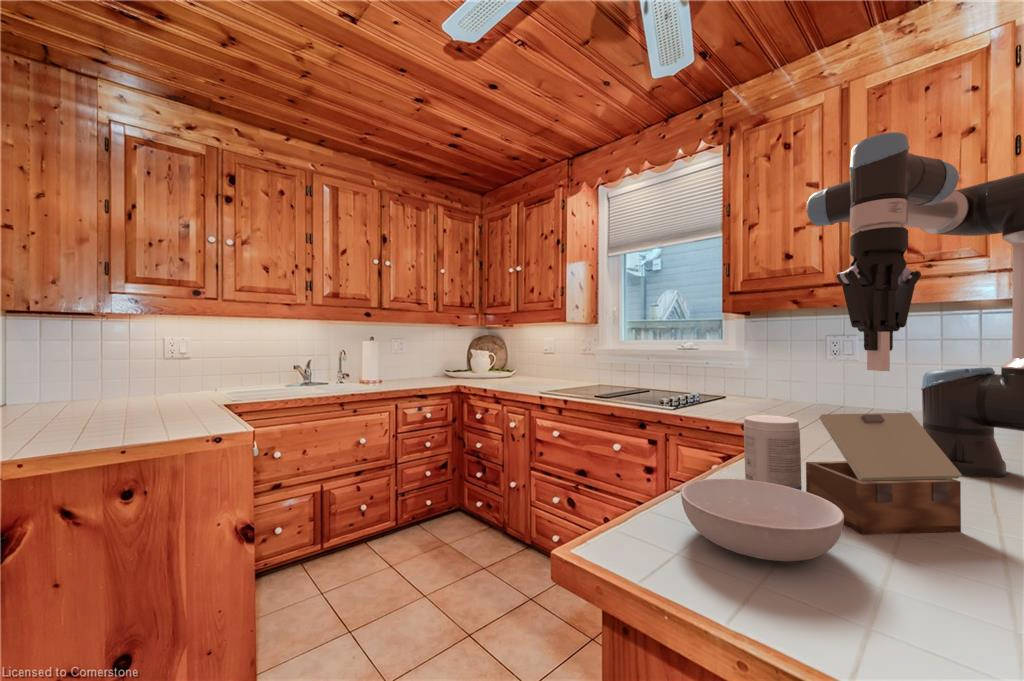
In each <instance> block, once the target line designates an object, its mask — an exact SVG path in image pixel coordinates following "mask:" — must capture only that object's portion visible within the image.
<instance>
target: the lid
mask: <svg viewBox="0 0 1024 681" xmlns="http://www.w3.org/2000/svg"><path fill="white" fill-rule="evenodd" d="M818 419H819V420H820V422H821V424H822V425H823V426H824V428H825V429H826V431H827V433H828V434H829V436H830V438H831V439H832V441H833V442H834V443H835V446H836V447H837V449H838V450H839V451H840V453H841V454H842V457H843V458H844V459H845V461H847V462H848V464H849V466H850V467H851V469H852V470H853V472H854V473H855V475H856V476H857V478H858V480H859V481H872V480H915V479H954V480H957V479H959V478H961V477H962V476H963V474H961V473H960V472H959V471H958V470H957V468H956V467H955V466H954V465H953V463H952V462H951V461H950V460H949V459H948V457H947V456H946V455H945V454H944V453H943V451H942V450H941V449H940V448H939V447H938V445H937V444H936V443H935V442H934V441H933V439H932V438H931V437H930V436H929V434H928V433H927V432H926V431H925V430H924V428H923V425H921V424H920V422H919V421H918V420H917V419H916V418H915V416H914V415H913V414H912V413H911V412H889V413H888V412H886V413H885V412H884V413H880V412H879V413H829V414H825V413H822V414H821V415H820V416H819V417H818Z"/></svg>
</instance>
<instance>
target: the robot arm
mask: <svg viewBox="0 0 1024 681" xmlns="http://www.w3.org/2000/svg"><path fill="white" fill-rule="evenodd" d="M910 147H911V146H910V145H909V138H908V136H907V134H905V133H903V132H897V131H896V132H893V131H892V132H885V133H884V132H883V133H881V134H879V133H878V134H874V135H872V136H870V137H867V138H864V139H863V140H860V141H859V142H857V143H856V144H855V145H854V146H853V147H852V149H851V152H850V161H849V168H848V171H849V180H847V181H844V182H841V183H838V184H835V185H832V186H831V185H830V186H827V187H825V188H822V189H821V190H819V191H815V192H814V193H812V195H810V197H809V198H808V199H807V200H808V201H807V203H806V215H807V217H808V219H809V221H810V222H811V223H812V224H814V225H815V226H817V227H824V226H825V227H826V226H833V225H835V224H838V223H849V231H850V232H851V233H853V234H851V236H849V254H850V256H851V257H852V261H851V263H850V266H849V268H847V269H846V270H845V271H842V272H841V271H840V272H838V273H837V274H836V279H837V280H838V282H839V284H840V285H841V287H842V290H843V295H844V299H845V304H846V307H847V312H848V316H849V320H850V321H849V322H850V324H851V325H850V326H851V327H852V328H855V329H857V330H858V332H861V333H863V349H864V351H866V370H867V371H878V372H890V371H891V370H890V368H891V364H890V362H891V359H890V358H891V356H890V354H891V351H892V350H893V348H894V346H893V345H894V344H893V343H894V341H893V340H894V339H893V338H894V332H899V331H900V330H901V328H905V327H906V325H907V322H908V317H909V312H910V307H911V304H912V299H913V296H914V293H915V292H914V291H915V287H916V284H917V283H918V281H919V280H920V278H921V276H922V274H921V271H920V270H915V271H913V270H911V269H910V268H908V267H907V265H908V264H907V261H906V259H905V256H904V255H905V253H906V251H907V250H908V249H909V229H907V228H914V229H915V228H916V229H920V230H921V231H922V232H925V233H927V234H931V235H932V234H933V235H943V236H944V235H945V236H946V235H947V236H962V237H964V236H965V237H966V236H967V237H968V236H970V237H977V236H978V237H979V236H990V235H997V234H1001V235H1002V236H1001V238H1002V241H1005V242H1006V243H1007V244H1008V243H1009V245H1011V246H1012V336H1011V337H1012V340H1011V342H1012V344H1011V346H1012V347H1011V350H1012V351H1011V352H1012V353H1011V359H1010V360H1009V361H1007V362H1005V363H1004V364H1003V365H1001V373H1000V374H999V373H997V374H996V371H995V370H994V368H992V367H974V368H973V367H970V368H953V369H949V368H948V369H936V370H935V369H934V370H928V371H927V372H925V373H924V374H923V375H922V384H921V397H922V398H921V401H922V404H921V406H922V410H921V411H922V427H923V428H924V430H925V431H926V432H927V433H928V434H929V436H930V437H931V438H932V439H933V441H934V442H935V443H936V444H937V445H938V447H939V448H940V449H941V450H942V451H943V453H944V454H945V455H946V456H947V457H948V459H949V460H950V461H951V462H952V463H953V465H954V466H955V467H956V468H957V470H958V471H959V472H960V473H961V474H962V476H963V475H965V476H971V477H972V476H973V477H989V478H995V477H997V478H998V477H1004V476H1006V475H1007V463H1006V461H1005V460H1003V457H1002V456H1003V455H1002V453H1001V451H1000V449H999V446H998V444H997V441H996V438H995V428H997V429H1004V430H1012V431H1019V432H1024V172H1021V173H1017V174H1013V175H1009V176H1006V177H1001V178H998V179H995V180H991V181H989V180H988V181H987V182H986V181H985V182H982V183H978V184H975V185H971V186H966V187H964V188H963V187H962V188H959V189H956V188H957V186H958V184H959V178H960V174H959V171H958V169H957V168H956V167H955V165H953V164H951V163H949V162H947V161H943V159H940V158H932V157H928V156H927V157H926V156H923V155H916V154H913V153H909V150H910Z"/></svg>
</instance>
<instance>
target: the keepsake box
mask: <svg viewBox="0 0 1024 681" xmlns="http://www.w3.org/2000/svg"><path fill="white" fill-rule="evenodd" d="M805 482H806V485H805V487H806V488H805V492H808V493H811V494H814V495H816V496H819V497H821V498H823V499H825V500H828V501H829V502H831V503H833V504H834V505H836V506H837V507H838V508H839V509H840V510H841V511H842V512H843V514H844V523H843V527H844V526H845V527H846V528H849V529H850V530H852V531H854V532H856V533H858V534H860V535H861V536H864V535H865V536H866V535H897V534H898V535H899V534H900V535H903V534H904V535H905V534H930V533H931V534H934V533H936V534H937V533H938V534H939V533H940V534H941V533H961V532H962V527H961V526H962V508H961V507H962V506H961V505H962V503H961V492H962V491H961V483H962V482H961V481H960V480H957V479H915V480H872V481H859V480H858V478H857V476H856V475H855V473H854V472H853V470H852V469H851V467H850V466H849V464H848V462H847V461H846V460H843V461H841V460H839V461H837V460H836V461H835V460H834V461H805Z"/></svg>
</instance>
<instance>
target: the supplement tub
mask: <svg viewBox="0 0 1024 681" xmlns="http://www.w3.org/2000/svg"><path fill="white" fill-rule="evenodd" d="M743 420H744V421H743V422H744V423H743V442H744V443H743V444H744V447H743V449H744V474H745V476H744V477H745V478H744V480H752V481H760V482H766V483H772V484H777V485H782V486H786V487H791V488H794V489H798V490H802V460H801V459H802V457H801V456H802V454H801V452H802V451H801V430H800V426H799V425H800V424H799V420H798V419H796V418H793V417H790V416H789V417H788V416H783V415H769V414H768V415H767V414H766V415H765V414H757V415H755V414H754V415H752V414H751V415H746V416H745V417H744V419H743ZM802 491H803V490H802Z"/></svg>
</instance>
